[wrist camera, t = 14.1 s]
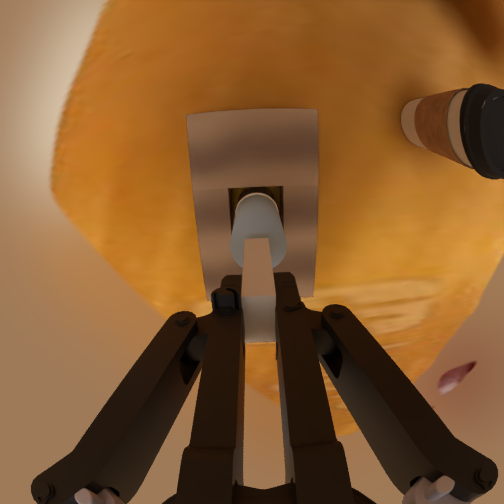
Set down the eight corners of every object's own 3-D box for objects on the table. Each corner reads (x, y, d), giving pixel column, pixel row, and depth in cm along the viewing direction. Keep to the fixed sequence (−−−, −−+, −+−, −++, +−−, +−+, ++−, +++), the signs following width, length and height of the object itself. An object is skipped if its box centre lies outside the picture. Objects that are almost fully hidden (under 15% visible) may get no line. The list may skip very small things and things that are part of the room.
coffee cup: (453, 139, 26) (540, 161, 13) (410, 168, 28) (496, 204, 15) (426, 80, 23) (514, 72, 10) (378, 106, 25) (465, 101, 12)
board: (194, 116, 26) (186, 114, 23) (309, 111, 26) (317, 108, 22) (211, 282, 35) (207, 300, 31) (307, 278, 35) (313, 296, 31)
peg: (236, 184, 30) (226, 220, 19) (274, 183, 30) (287, 218, 19) (238, 220, 31) (231, 273, 21) (275, 219, 31) (287, 271, 20)
